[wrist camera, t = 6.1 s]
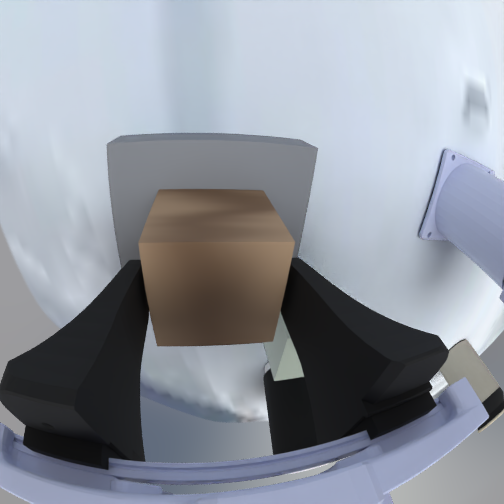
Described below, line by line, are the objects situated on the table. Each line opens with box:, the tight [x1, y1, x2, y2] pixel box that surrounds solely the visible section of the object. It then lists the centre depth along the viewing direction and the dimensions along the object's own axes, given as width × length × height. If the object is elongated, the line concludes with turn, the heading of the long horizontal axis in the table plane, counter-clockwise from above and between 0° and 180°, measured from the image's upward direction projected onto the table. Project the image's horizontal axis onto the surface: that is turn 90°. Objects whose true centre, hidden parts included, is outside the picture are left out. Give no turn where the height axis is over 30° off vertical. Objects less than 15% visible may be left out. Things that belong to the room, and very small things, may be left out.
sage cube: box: [263, 311, 304, 381], centre depth 20 cm, size 5×5×5 cm
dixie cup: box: [264, 362, 329, 474], centre depth 21 cm, size 8×8×11 cm
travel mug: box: [440, 340, 504, 433], centre depth 31 cm, size 8×8×18 cm
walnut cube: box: [139, 189, 295, 346], centre depth 12 cm, size 5×5×5 cm
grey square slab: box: [107, 133, 318, 268], centre depth 15 cm, size 10×10×3 cm
